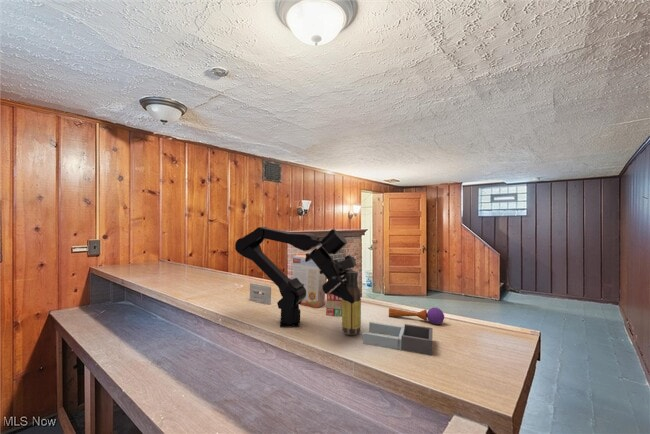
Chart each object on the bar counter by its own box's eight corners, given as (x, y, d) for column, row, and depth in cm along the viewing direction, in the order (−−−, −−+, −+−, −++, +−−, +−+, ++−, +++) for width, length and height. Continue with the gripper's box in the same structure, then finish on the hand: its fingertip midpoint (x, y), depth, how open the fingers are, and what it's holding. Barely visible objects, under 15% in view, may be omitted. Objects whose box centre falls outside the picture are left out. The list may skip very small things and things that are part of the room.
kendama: (391, 304, 120) (444, 307, 112) (391, 319, 119) (444, 324, 111) (387, 305, 115) (443, 308, 107) (387, 321, 114) (444, 326, 106)
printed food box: (333, 300, 136) (334, 274, 136) (347, 301, 135) (348, 274, 135) (326, 315, 115) (327, 284, 115) (342, 317, 114) (343, 285, 114)
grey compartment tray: (362, 343, 91) (362, 329, 91) (369, 330, 101) (370, 318, 101) (432, 355, 84) (432, 341, 84) (432, 340, 94) (432, 327, 94)
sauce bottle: (360, 329, 100) (362, 270, 100) (360, 336, 94) (363, 273, 94) (341, 327, 101) (343, 269, 101) (340, 334, 95) (342, 272, 95)
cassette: (271, 304, 128) (272, 286, 128) (268, 305, 127) (269, 287, 127) (251, 299, 134) (252, 282, 134) (248, 300, 133) (249, 283, 133)
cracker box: (325, 305, 129) (326, 257, 129) (317, 308, 124) (319, 258, 124) (299, 299, 136) (300, 254, 136) (291, 302, 131) (292, 255, 131)
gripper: (333, 250, 90) (368, 291, 86) (349, 245, 108) (379, 279, 104) (308, 273, 93) (341, 314, 89) (328, 265, 110) (356, 298, 107)
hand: (356, 300), depth 97 cm, fingers closed on sauce bottle, 6 cm apart
